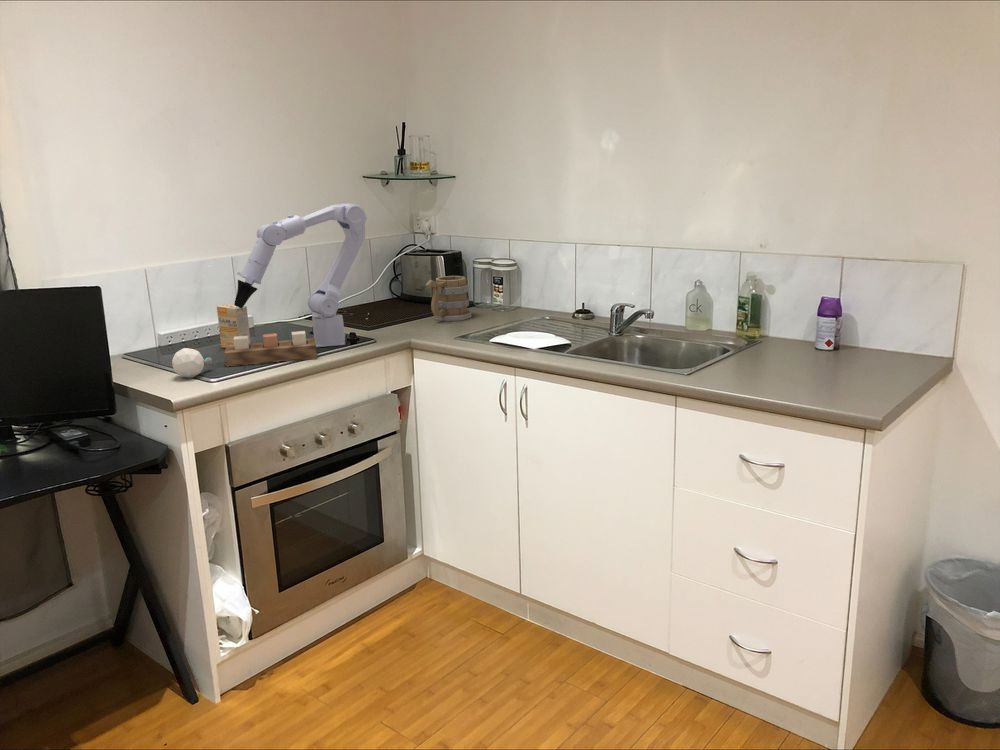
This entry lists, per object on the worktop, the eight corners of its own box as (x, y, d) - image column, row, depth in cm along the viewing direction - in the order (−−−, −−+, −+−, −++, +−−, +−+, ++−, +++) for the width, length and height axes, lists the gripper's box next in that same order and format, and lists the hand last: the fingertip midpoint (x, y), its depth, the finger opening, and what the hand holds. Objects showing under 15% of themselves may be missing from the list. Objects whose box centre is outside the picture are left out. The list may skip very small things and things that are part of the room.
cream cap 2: (306, 343, 237) (305, 330, 236) (306, 346, 234) (305, 333, 233) (292, 344, 236) (291, 332, 235) (293, 347, 233) (291, 334, 232)
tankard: (450, 312, 293) (448, 271, 288) (477, 316, 285) (476, 273, 281) (413, 323, 277) (410, 279, 273) (441, 326, 270) (439, 282, 266)
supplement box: (220, 348, 249) (215, 306, 245) (232, 344, 253) (227, 303, 250) (240, 350, 245) (235, 307, 242) (252, 346, 249) (247, 305, 246)
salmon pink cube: (278, 345, 235) (276, 333, 234) (278, 348, 232) (276, 335, 231) (264, 346, 234) (263, 334, 233) (264, 349, 231) (262, 337, 230)
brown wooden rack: (315, 351, 242) (314, 337, 240) (317, 358, 232) (316, 345, 231) (228, 358, 236) (226, 345, 235) (226, 366, 226) (224, 353, 225)
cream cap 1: (249, 348, 233) (248, 335, 232) (249, 351, 230) (247, 338, 229) (235, 349, 232) (234, 336, 232) (235, 352, 229) (233, 339, 228)
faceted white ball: (160, 365, 215) (194, 360, 226) (179, 386, 213) (213, 379, 224) (172, 343, 212) (206, 339, 223) (192, 363, 210) (225, 358, 221)
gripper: (244, 259, 239) (225, 301, 238) (243, 256, 225) (223, 300, 224) (267, 269, 241) (248, 311, 240) (267, 267, 227) (247, 311, 226)
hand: (238, 306), depth 232 cm, fingers open, 7 cm apart
